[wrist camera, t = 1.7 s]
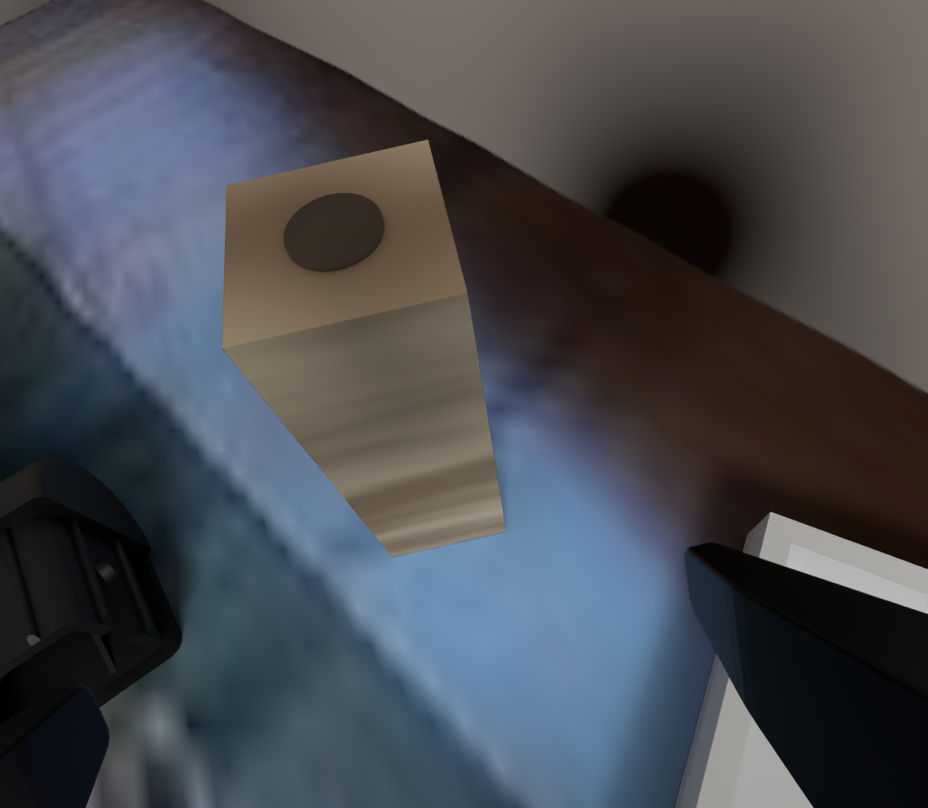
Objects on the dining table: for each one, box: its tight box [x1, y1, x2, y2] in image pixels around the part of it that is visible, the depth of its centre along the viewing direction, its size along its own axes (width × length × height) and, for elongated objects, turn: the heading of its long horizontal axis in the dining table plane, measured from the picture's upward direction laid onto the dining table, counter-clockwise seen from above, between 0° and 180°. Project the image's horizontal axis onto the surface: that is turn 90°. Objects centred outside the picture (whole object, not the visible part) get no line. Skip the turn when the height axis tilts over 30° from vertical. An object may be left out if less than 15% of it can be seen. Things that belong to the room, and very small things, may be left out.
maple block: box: [222, 140, 506, 557], centre depth 17 cm, size 4×4×14 cm
